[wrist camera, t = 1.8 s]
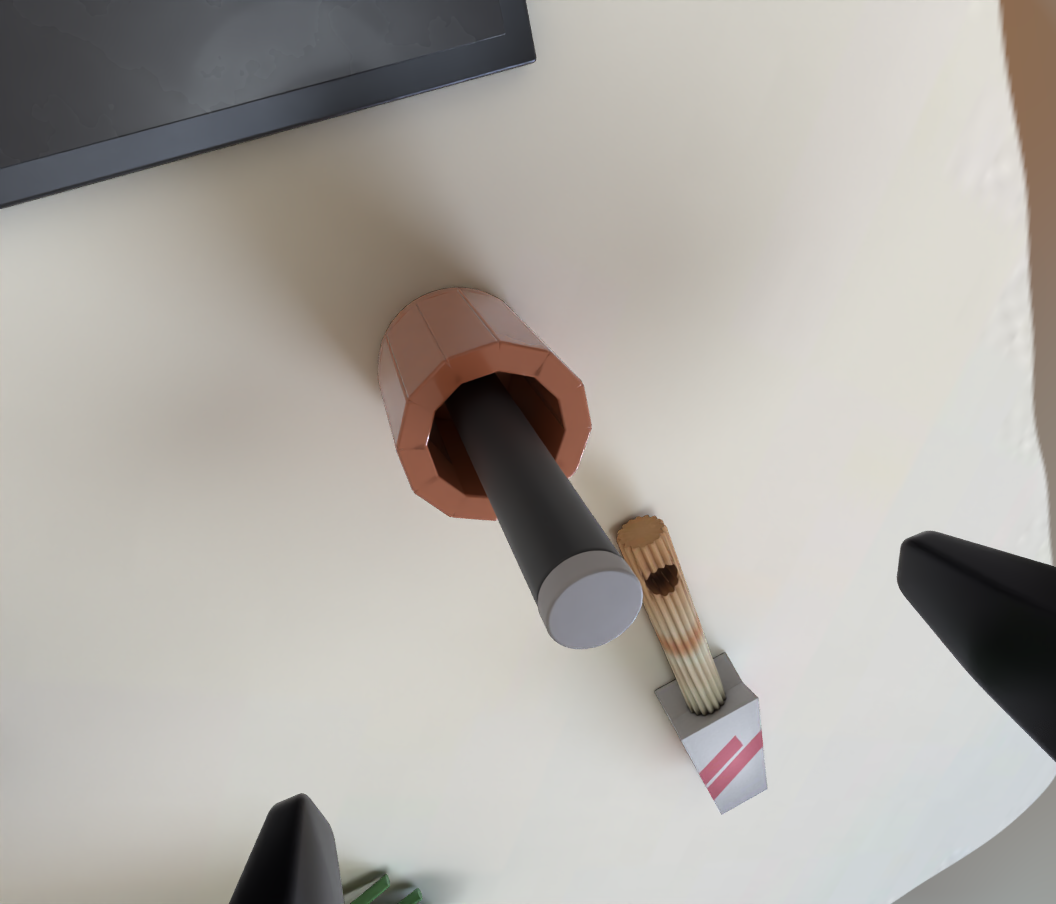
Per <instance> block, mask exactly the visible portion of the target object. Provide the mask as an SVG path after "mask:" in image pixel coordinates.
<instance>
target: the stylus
mask: <svg viewBox="0 0 1056 904" xmlns="http://www.w3.org/2000/svg"><path fill="white" fill-rule="evenodd" d="M445 405H446V407H447V409H448V411H449V413H450V416H451V418H452V420H453V422H454V424H455V426H456V429H457V431H458V433H459V435H460V437H461V440H462V442H463V444H464V446H465V448H466V451H467V453H468V455H469V457H470V459H471V462H472V464H473V466H474V468H475V470H476V473H477V475H478V477H479V479H480V481H481V483H482V486H483V488H484V490H485V492H486V494H487V497H488V499H489V501H490V503H491V505H492V508H493V510H494V512H495V514H496V516H497V519H498V521H499V523H500V525H501V527H502V530H503V532H504V534H505V536H506V538H507V540H508V543H509V545H510V547H511V549H512V551H513V554H514V556H515V558H516V560H517V562H518V565H519V567H520V569H521V571H522V573H523V576H524V578H525V580H526V582H527V584H528V587H529V589H530V591H531V593H532V595H533V597H534V600H535V602H536V604H537V606H538V610H539V613H540V616H541V618H542V620H543V622H544V625H545V627H546V629H547V631H548V633H549V635H550V636H551V637H552V638H553V639H554V640H555V641H556V642H557V643H559V644H561V645H563V646H565V647H568V648H572V649H588V648H593V647H597V646H600V645H603V644H605V643H607V642H609V641H611V640H613V639H615V638H616V637H618V636H619V635H621V634H622V633H623V632H624V631H625V630H626V629H627V628H628V627H629V626H630V625H631V624H632V623H633V621H634V620H635V618H636V617H637V615H638V613H639V611H640V609H641V606H642V601H643V591H642V586H641V583H640V581H639V580H638V578H637V577H636V575H635V574H634V572H633V571H632V569H631V568H630V567H629V565H628V564H627V562H626V561H625V560H624V559H623V558H622V557H621V556H620V554H619V553H618V551H617V550H616V548H615V547H614V545H613V544H612V543H611V541H610V540H609V538H608V537H607V535H606V534H605V532H604V531H603V529H602V528H601V526H600V525H599V524H598V522H597V521H596V519H595V518H594V516H593V515H592V513H591V512H590V510H589V509H588V508H587V506H586V505H585V503H584V502H583V500H582V499H581V497H580V496H579V494H578V493H577V492H576V490H575V489H574V487H573V486H572V484H571V483H570V481H569V480H568V478H567V477H566V476H565V474H564V473H563V471H562V470H561V468H560V467H559V465H558V464H557V462H556V461H555V460H554V458H553V457H552V455H551V454H550V452H549V451H548V449H547V448H546V446H545V445H544V444H543V442H542V441H541V439H540V438H539V436H538V435H537V433H536V432H535V430H534V429H533V428H532V426H531V425H530V423H529V422H528V420H527V419H526V417H525V416H524V414H523V413H522V412H521V410H520V409H519V407H518V406H517V404H516V403H515V401H514V400H513V398H512V397H511V395H510V394H509V393H508V391H507V390H506V388H505V387H504V385H503V384H502V382H501V381H500V379H499V378H498V377H497V375H496V374H495V372H494V373H492V374H489V375H486V376H483V377H480V378H477V379H474V380H471V381H468V382H465V383H462V384H461V385H460V386H459V387H458V388H457V389H456V390H455V391H454V392H453V393H452V394H451V395H450V396H449V397H448V398H447V400H446V401H445Z"/></svg>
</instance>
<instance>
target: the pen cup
mask: <svg viewBox="0 0 1056 904" xmlns="http://www.w3.org/2000/svg"><path fill="white" fill-rule="evenodd" d="M494 372H495V374H496V375H497V377H498V378H499V379H500V381H501V382H502V384H503V385H504V387H505V388H506V390H507V391H508V393H509V394H510V395H511V397H512V398H513V400H514V401H515V403H516V404H517V406H518V407H519V409H520V410H521V412H522V413H523V414H524V416H525V417H526V419H527V420H528V422H529V423H530V425H531V426H532V428H533V429H534V430H535V432H536V433H537V435H538V436H539V438H540V439H541V441H542V442H543V444H544V445H545V446H546V448H547V449H548V451H549V452H550V454H551V455H552V457H553V458H554V460H555V461H556V462H557V464H558V465H559V467H560V468H561V470H562V471H563V473H564V474H565V476H566V477H567V478H568V479H569V478H570V477H571V476H572V475H573V474H574V473H575V472H576V470H577V469H578V466H579V463H580V461H581V458H582V455H583V452H584V449H585V446H586V444H587V441H588V438H589V435H590V432H591V429H592V428H591V426H592V424H591V419H590V414H589V409H588V404H587V399H586V394H585V389H584V385H583V383H582V381H581V380H580V379H579V378H578V377H577V376H576V375H575V374H574V373H573V372H572V371H571V370H570V369H569V367H568V366H567V365H566V364H565V363H564V362H563V361H562V360H561V359H560V358H559V357H558V356H557V355H556V354H555V353H554V352H553V351H552V350H551V349H550V348H549V347H548V346H547V345H546V344H545V343H544V342H543V341H542V340H541V339H540V338H539V337H538V336H537V335H536V334H535V332H534V331H533V330H532V329H531V328H530V327H529V326H528V325H527V324H526V323H525V322H524V321H523V320H522V319H521V318H520V317H519V316H518V315H517V314H516V313H514V311H513V310H512V309H511V308H510V307H508V306H507V305H506V304H505V303H504V302H503V301H502V300H500V299H499V298H496V297H495V296H493V295H490V294H488V293H486V292H483V291H480V290H477V289H471V288H461V287H454V288H445V289H440V290H436V291H433V292H430V293H428V294H425V295H423V296H421V297H419V298H418V299H416V300H414V301H413V302H411V303H410V304H409V305H407V306H406V307H405V308H404V309H403V310H402V311H401V312H400V313H399V314H398V315H397V316H396V317H395V318H394V320H393V321H392V322H391V324H390V326H389V327H388V329H387V331H386V333H385V335H384V337H383V340H382V343H381V346H380V350H379V357H378V382H379V386H380V390H381V393H382V397H383V401H384V405H385V409H386V413H387V417H388V421H389V424H390V428H391V432H392V436H393V440H394V444H395V448H396V451H397V454H398V456H399V459H400V461H401V464H402V466H403V469H404V471H405V474H406V476H407V479H408V481H409V484H410V486H411V489H412V490H413V491H414V493H415V494H416V495H418V496H419V497H421V498H422V499H424V500H425V501H427V502H428V503H430V504H431V505H433V506H434V507H436V508H437V509H439V510H440V511H442V512H443V513H445V514H446V515H448V516H449V517H454V518H466V519H478V520H491V521H496V520H498V519H497V516H496V514H495V512H494V510H493V508H492V505H491V503H490V501H489V499H488V497H487V494H486V492H485V490H484V488H483V486H482V483H481V481H480V479H479V477H478V475H477V473H476V470H475V468H474V466H473V464H472V462H471V459H470V457H469V455H468V453H467V451H466V448H465V446H464V444H463V442H462V440H461V437H460V435H459V433H458V431H457V429H456V426H455V424H454V422H453V420H452V418H451V416H450V413H449V411H448V409H447V407H446V405H445V401H446V400H447V398H448V397H449V396H450V395H451V394H452V393H453V392H454V391H455V390H456V389H457V388H458V387H459V386H460V385H461V384H462V383H465V382H468V381H471V380H474V379H477V378H480V377H483V376H486V375H489V374H492V373H494Z"/></svg>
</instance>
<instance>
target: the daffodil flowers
mask: <svg viewBox="0 0 1056 904" xmlns="http://www.w3.org/2000/svg"><path fill="white" fill-rule="evenodd" d="M389 887H390V881H389V878H388V876H387V874H386V875H384V876H383V877H382V878H381V879H379V880H378V881H377V882H376V883H375V884H373V885H372V886H371V887H370V888H369V889H367V890H366V891H365V892H364V893H363V894H361V895H360V896H359V897H358V898H357V899H355V900H354V901H353V902H352V903H351V904H369V903H371V902H372V901H373V900H374V899H375V898H377V897H378V896H379V895H380V894H381V893H383V892H384V891H385V890H386V889H387V888H389ZM421 900H422V894H421V892H420V890H419V888H417V889H416V890H414V891H413V892H412V893H410V894H409V895H408V896H407V897H405V898H404V899H403V900H401V901H400V902H399V903H397V904H417V903H418V902H419V901H421Z"/></svg>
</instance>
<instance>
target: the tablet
mask: <svg viewBox="0 0 1056 904" xmlns="http://www.w3.org/2000/svg"><path fill="white" fill-rule="evenodd" d="M535 61H536V53H535V48H534V42H533V37H532V32H531V26H530V21H529V15H528V10H527V5H526V0H0V209H2V208H6V207H10V206H13V205H17V204H21V203H24V202H28V201H32V200H35V199H39V198H43V197H46V196H50V195H53V194H57V193H61V192H64V191H68V190H72V189H75V188H79V187H83V186H86V185H90V184H94V183H97V182H101V181H105V180H108V179H112V178H115V177H119V176H123V175H126V174H130V173H134V172H137V171H141V170H145V169H148V168H152V167H156V166H159V165H163V164H166V163H170V162H174V161H177V160H181V159H185V158H188V157H192V156H196V155H199V154H203V153H207V152H210V151H214V150H217V149H221V148H225V147H228V146H232V145H236V144H239V143H243V142H247V141H250V140H254V139H258V138H261V137H265V136H268V135H272V134H276V133H279V132H283V131H287V130H290V129H294V128H298V127H301V126H305V125H309V124H312V123H316V122H319V121H323V120H327V119H330V118H334V117H338V116H341V115H345V114H349V113H352V112H356V111H360V110H363V109H367V108H370V107H374V106H378V105H381V104H385V103H389V102H392V101H396V100H400V99H403V98H407V97H411V96H414V95H418V94H421V93H425V92H429V91H432V90H436V89H440V88H443V87H447V86H451V85H454V84H458V83H462V82H465V81H469V80H472V79H476V78H480V77H483V76H487V75H491V74H494V73H498V72H502V71H505V70H509V69H513V68H516V67H520V66H523V65H527V64H531V63H534V62H535Z"/></svg>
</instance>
